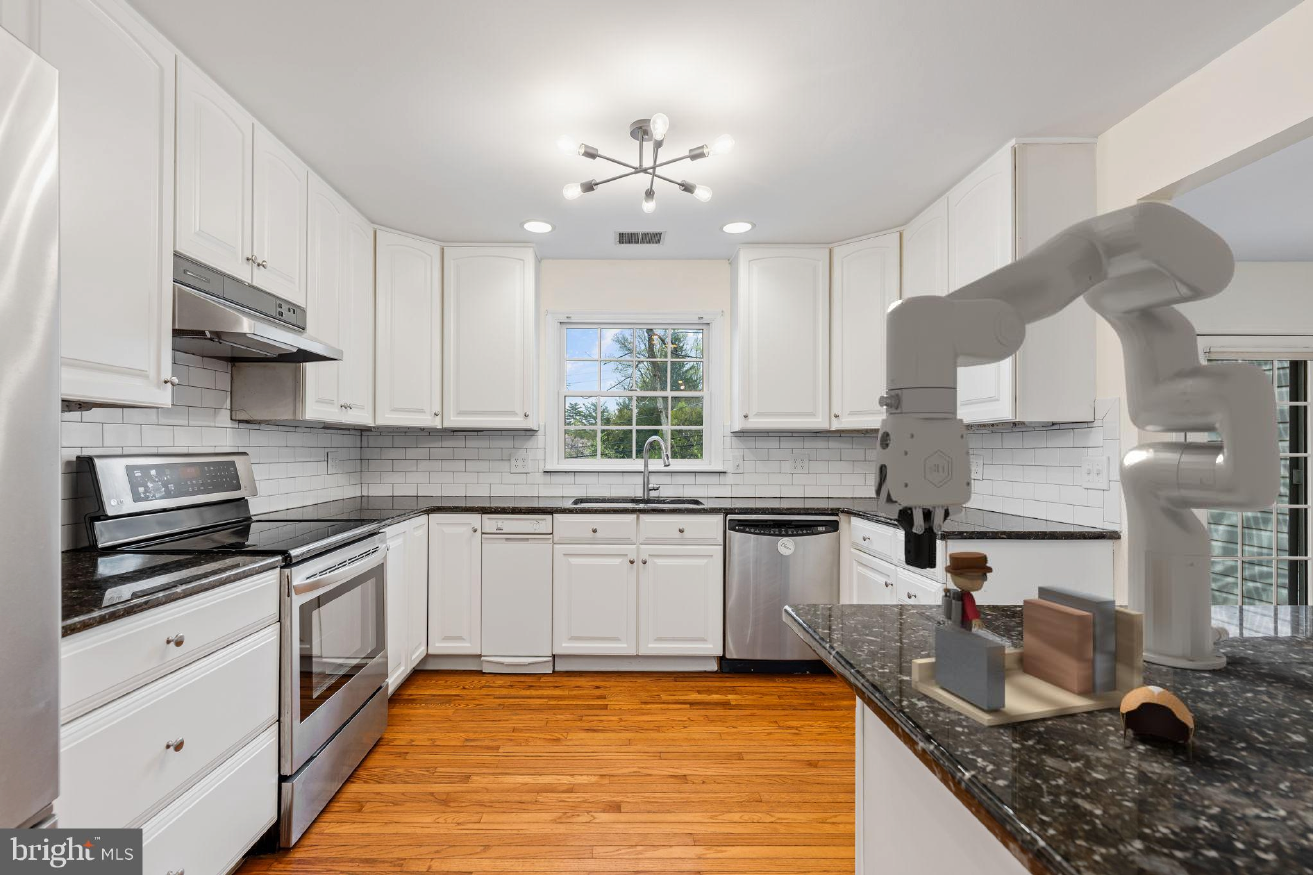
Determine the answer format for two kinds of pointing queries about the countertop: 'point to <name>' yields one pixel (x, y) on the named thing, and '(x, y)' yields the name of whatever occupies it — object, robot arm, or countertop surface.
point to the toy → (965, 589)
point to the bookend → (970, 666)
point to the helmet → (1157, 715)
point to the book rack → (1058, 660)
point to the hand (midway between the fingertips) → (920, 566)
